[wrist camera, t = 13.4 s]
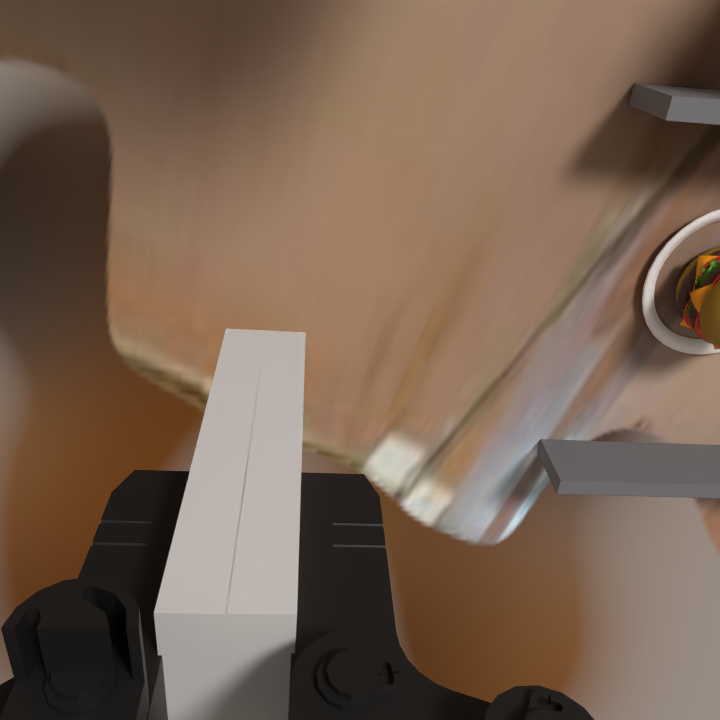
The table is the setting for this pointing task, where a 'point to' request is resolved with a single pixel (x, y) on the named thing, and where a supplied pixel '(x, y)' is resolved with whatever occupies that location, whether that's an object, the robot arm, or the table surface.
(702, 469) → the box
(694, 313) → the hamburger
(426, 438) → the table surface
